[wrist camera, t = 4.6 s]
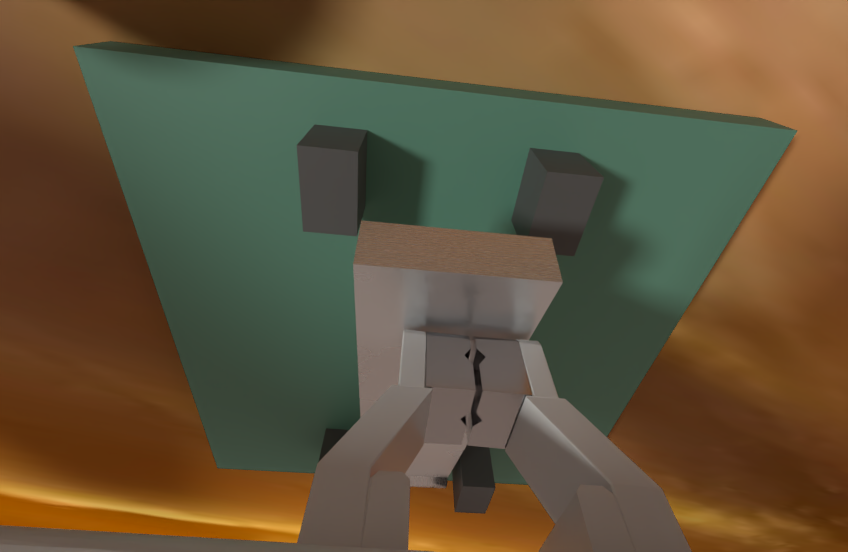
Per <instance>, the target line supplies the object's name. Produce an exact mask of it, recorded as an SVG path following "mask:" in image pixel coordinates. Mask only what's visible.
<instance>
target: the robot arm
mask: <svg viewBox="0 0 848 552" xmlns="http://www.w3.org/2000/svg"><path fill="white" fill-rule="evenodd" d="M469 355H470V360H469ZM465 429H466V435H467V445H469V446H479V447H489V448H499V449H506V450H505V452H506V453H507V455H508V456H509V458H510V459H511V460H512V462H513V463H514V465H515V466H516V468H517V469H518V471H519V472H520V474H521V475H522V476H523V478H524V479H525V481H526V482H527V484H528V485H529V487H530V488H531V489H532V491H533V492H534V494H535V495H536V497H537V498H538V500H539V501H540V503H541V504H542V505H543V507H544V508H545V510H546V511H547V513H548V514H549V516H550V517H551V519H552V520H553V521H554V523H555V524H556V525H555V526H554V528H553V529H552V531H551V533H550V534H549V536H548V537H547V539H546V540H545V542H544V544H543V545H542V547H541V548H540V550H539V552H692V551H691V549H690V547H689V545H688V543H687V541H686V539H685V537H684V534H683V532H682V530H681V528H680V526H679V524H678V522H677V520H676V518H675V515H674V513H673V511H672V509H671V507H670V505H669V503H668V501H667V499H666V496H665V494H664V492H663V490H662V488H661V487H659V486H658V485H657V484H656V483H655V482H654V481H653V480H652V479H651V478H650V477H649V476H648V475H647V474H646V473H644V472H643V471H642V470H641V469H640V468H639V467H638V466H637V465H636V464H635V463H634V462H633V461H632V460H631V459H629V458H628V457H627V456H626V455H625V454H624V453H623V452H622V451H621V450H620V449H619V448H618V447H617V446H616V445H614V444H613V443H612V442H611V441H610V440H609V439H608V438H607V437H606V436H605V435H604V434H603V433H602V432H601V431H599V430H598V429H597V428H596V427H595V426H594V425H593V424H592V423H591V422H590V421H589V420H588V419H587V418H586V417H584V416H583V415H582V414H581V413H580V412H579V411H578V410H577V409H576V408H575V407H574V406H573V405H572V404H571V403H569V402H568V401H567V400H566V399H562V398H559V397H558V394H557V391H556V388H555V385H554V382H553V379H552V376H551V373H550V370H549V367H548V364H547V361H546V358H545V355H544V352H543V349H542V346H541V344H540V343H539V342H538V341H533V340H518V339H516V340H514V339H502V338H489V337H476V336H473V338H472V340H471V344H470V338H469V336H464V335H455V334H446V333H437V332H428V331H426V333H425V332H423V331H415V330H406V329H404V331H403V337H402V348H401V358H400V368H399V378H398V385H391V386H390V387H389V388H388V389H387V390H386V392H385V393H384V394H383V395H382V396H381V397H380V398H379V399H378V400H377V401H376V402H375V403H374V404H373V405H372V406H371V407H370V408H369V410H368V411H367V412H366V413H365V414H364V415H363V416H362V417H361V418H360V419H359V420H358V421H357V422H356V423H355V424H354V425H353V426H352V428H351V429H350V430H349V431H348V432H347V433H346V434H345V435H344V436H343V437H342V438H341V439H340V440H339V441H338V442H337V443H336V444H335V445H334V447H333V448H332V449H331V450H330V451H329V452H328V453H327V454H326V455H325V456H324V457H323V458H322V459H321V460H320V461H319V462H318V463H317V467H316V471H315V475H314V479H313V483H312V487H311V491H310V495H309V498H308V502H307V506H306V510H305V514H304V518H303V522H302V526H301V530H300V534H299V538H298V542H297V543H284V542H267V541H251V540H235V539H218V538H202V537H185V536H169V535H152V534H136V533H119V532H103V531H86V530H70V529H54V528H37V527H21V526H4V525H0V552H432V551H416V550H408V532H409V502H410V479H409V478H408V477H407V476H406V475H405V473H406V472H407V470H408V468H409V467H410V465H411V464H412V462H413V461H414V459H415V458H416V456H417V455H418V453H419V451H420V450H421V448H422V447H423V444H424V443H432V444H454V445H461V444H462V440H463V437H464V433H465Z"/></svg>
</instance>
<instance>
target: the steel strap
mask: <svg viewBox="0 0 848 552" xmlns="http://www.w3.org/2000/svg"><path fill="white" fill-rule="evenodd" d="M353 273H354V294H355V314H356V335H357V356H358V377H359V397H360V418H361V417H362V416H363V415H364V414H365V413H366V412H367V411H368V410H369V408H370V407H371V406H372V405H373V404H374V403H375V402H376V401H377V400H378V399H379V398H380V397H381V396H382V395H383V394H384V393H385V392H386V390H387V389H388V388H389V387H390V386H391V385H398V378H399V368H400V358H401V348H402V337H403V331H404V329H406V330H415V331H423V332H425V333H426V331H428V332H437V333H446V334H455V335H464V336H469V338H470V344H471V340H472V338H473V336H476V337H489V338H502V339H514V340H516V339H518V340H529V339H530V337H531V336H532V334H533V332H534V331H535V329H536V327H537V325H538V324H539V322H540V320H541V319H542V317H543V315H544V314H545V312H546V310H547V309H548V307H549V305H550V303H551V302H552V300H553V298H554V297H555V295H556V293H557V292H558V290H559V288H560V286H561V285H562V283H563V281H562V277H561V273H560V269H559V265H558V261H557V258H556V254H555V250H554V246H553V242H552V238H542V237H532V236H521V235H510V234H500V233H489V232H479V231H468V230H457V229H447V228H436V227H425V226H415V225H404V224H394V223H383V222H372V221H362V220H361V224H360V230H359V235H358V241H357V246H356V251H355V257H354V262H353ZM469 360H470V355H469ZM466 446H467V435H466V429H465V433H464V437H463V440H462V444H461V445H454V444H432V443H424V444H423V447H422V448H421V450H420V451H419V453H418V455H417V456H416V458H415V459H414V461H413V462H412V464H411V465H410V467H409V468H408V470H407V472H406V473H405V475H406V476H407V477H408V478H409V479H410V487H427V488H446V485H447V479H448V476H449V475H450V473H451V471H452V469H453V468H454V466H455V464H456V463H457V461H458V459H459V458H460V456H461V454H462V452H463V451H464V449H465V447H466Z"/></svg>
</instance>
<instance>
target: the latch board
mask: <svg viewBox="0 0 848 552" xmlns="http://www.w3.org/2000/svg"><path fill="white" fill-rule="evenodd" d="M73 48H74V51H75V54H76V56H77V59H78V62H79V65H80V68H81V71H82V74H83V77H84V80H85V83H86V86H87V89H88V91H89V94H90V97H91V100H92V103H93V106H94V109H95V112H96V115H97V118H98V121H99V124H100V126H101V129H102V132H103V135H104V138H105V141H106V144H107V147H108V150H109V153H110V156H111V158H112V161H113V164H114V167H115V170H116V173H117V176H118V179H119V182H120V185H121V188H122V191H123V193H124V196H125V199H126V202H127V205H128V208H129V211H130V214H131V217H132V220H133V223H134V226H135V228H136V231H137V234H138V237H139V240H140V243H141V246H142V249H143V252H144V255H145V258H146V261H147V263H148V266H149V269H150V272H151V275H152V278H153V281H154V284H155V287H156V290H157V293H158V296H159V298H160V301H161V304H162V307H163V310H164V313H165V316H166V319H167V322H168V325H169V328H170V331H171V333H172V336H173V339H174V342H175V345H176V348H177V351H178V354H179V357H180V360H181V363H182V366H183V368H184V371H185V374H186V377H187V380H188V383H189V386H190V389H191V392H192V395H193V398H194V401H195V403H196V406H197V409H198V412H199V415H200V418H201V421H202V424H203V427H204V430H205V433H206V436H207V438H208V441H209V444H210V447H211V450H212V453H213V456H214V459H215V462H216V465H217V468H224V469H242V470H261V471H280V472H299V473H315V471H316V467H317V463H318V462H319V461H320V460H321V459H322V458H323V457H324V456H325V455H326V454H327V453H328V452H329V451H330V450H331V449H332V448H333V447H334V445H335V444H336V443H337V442H338V441H339V440H340V439H341V438H342V437H343V436H344V435H345V434H346V433H347V432H348V431H349V430H350V429H351V428H352V426H353V425H354V424H355V423H356V422H357V421H358V420H359V419H360V397H359V377H358V356H357V335H356V314H355V294H354V273H353V262H354V257H355V251H356V246H357V241H358V235H359V230H360V224H361V220H362V221H372V222H383V223H394V224H404V225H415V226H425V227H436V228H447V229H457V230H468V231H479V232H489V233H500V234H510V235H521V236H532V237H542V238H552V242H553V246H554V250H555V254H556V258H557V261H558V265H559V269H560V273H561V277H562V281H563V283H562V285H561V286H560V288H559V290H558V292H557V293H556V295H555V297H554V298H553V300H552V302H551V303H550V305H549V307H548V309H547V310H546V312H545V314H544V315H543V317H542V319H541V320H540V322H539V324H538V325H537V327H536V329H535V331H534V332H533V334H532V336H531V337H530V339H529V340H533V341H538V342H539V343H540V344H541V346H542V349H543V352H544V355H545V358H546V361H547V364H548V367H549V370H550V373H551V376H552V379H553V382H554V385H555V388H556V391H557V394H558V397H559V398H562V399H566V400H567V401H568V402H569V403H571V404H572V405H573V406H574V407H575V408H576V409H577V410H578V411H579V412H580V413H581V414H582V415H583V416H584V417H586V418H587V419H588V420H589V421H590V422H591V423H592V424H593V425H594V426H595V427H596V428H597V429H598V430H599V431H601V432H602V433H603V434H604V435H605V436H606V437H607V436H608V434H609V433H610V431H611V429H612V428H613V426H614V425H615V423H616V421H617V420H618V418H619V416H620V415H621V413H622V412H623V410H624V408H625V407H626V405H627V404H628V402H629V400H630V399H631V397H632V396H633V394H634V392H635V391H636V389H637V388H638V386H639V384H640V383H641V381H642V380H643V378H644V376H645V375H646V373H647V372H648V370H649V368H650V367H651V365H652V364H653V362H654V360H655V359H656V357H657V355H658V354H659V352H660V351H661V349H662V347H663V346H664V344H665V343H666V341H667V339H668V338H669V336H670V335H671V333H672V331H673V330H674V328H675V327H676V325H677V323H678V322H679V320H680V319H681V317H682V315H683V314H684V312H685V311H686V309H687V307H688V306H689V304H690V302H691V301H692V299H693V298H694V296H695V294H696V293H697V291H698V290H699V288H700V286H701V285H702V283H703V282H704V280H705V278H706V277H707V275H708V274H709V272H710V270H711V269H712V267H713V266H714V264H715V262H716V261H717V259H718V258H719V256H720V254H721V253H722V251H723V250H724V248H725V246H726V245H727V243H728V241H729V240H730V238H731V237H732V235H733V233H734V232H735V230H736V229H737V227H738V225H739V224H740V222H741V221H742V219H743V217H744V216H745V214H746V213H747V211H748V209H749V208H750V206H751V205H752V203H753V201H754V200H755V198H756V197H757V195H758V193H759V192H760V190H761V189H762V187H763V185H764V184H765V182H766V180H767V179H768V177H769V176H770V174H771V172H772V171H773V169H774V168H775V166H776V164H777V163H778V161H779V160H780V158H781V156H782V155H783V153H784V152H785V150H786V148H787V147H788V145H789V144H790V142H791V140H792V139H793V137H794V136H795V134H796V132H797V130H794V129H791V128H788V127H785V126H783V125H780V124H777V123H774V122H771V121H768V120H765V119H762V118H756V117H748V116H739V115H731V114H722V113H714V112H705V111H697V110H688V109H680V108H671V107H663V106H654V105H646V104H637V103H629V102H621V101H612V100H604V99H595V98H587V97H578V96H570V95H561V94H553V93H544V92H536V91H527V90H519V89H510V88H502V87H493V86H485V85H476V84H468V83H460V82H451V81H443V80H434V79H426V78H417V77H409V76H400V75H392V74H383V73H375V72H366V71H358V70H349V69H341V68H332V67H324V66H315V65H307V64H299V63H290V62H282V61H273V60H265V59H256V58H248V57H239V56H231V55H222V54H214V53H205V52H197V51H188V50H180V49H171V48H163V47H154V46H146V45H138V44H129V43H121V42H112V41H109V42H101V43H94V44H86V45H79V46H73ZM505 450H506V449H499V448H489V447H479V446H469V445H467V446H466V447H465V449H464V451H463V452H462V454H461V456H460V458H459V459H458V461H457V463H456V464H455V466H454V468H453V469H452V471H451V473H450V475H449V476H448V479H447V480H448V481H453V493H454V508H455V512H466V513H486V510H487V508H488V505H489V503H490V500H491V498H492V495H493V493H494V490H495V483H505V484H523V485H528V484H527V482H526V481H525V479H524V478H523V476H522V475H521V474H520V472H519V471H518V469H517V468H516V466H515V465H514V463H513V462H512V460H511V459H510V458H509V456H508V455H507V453H506V452H505Z"/></svg>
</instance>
